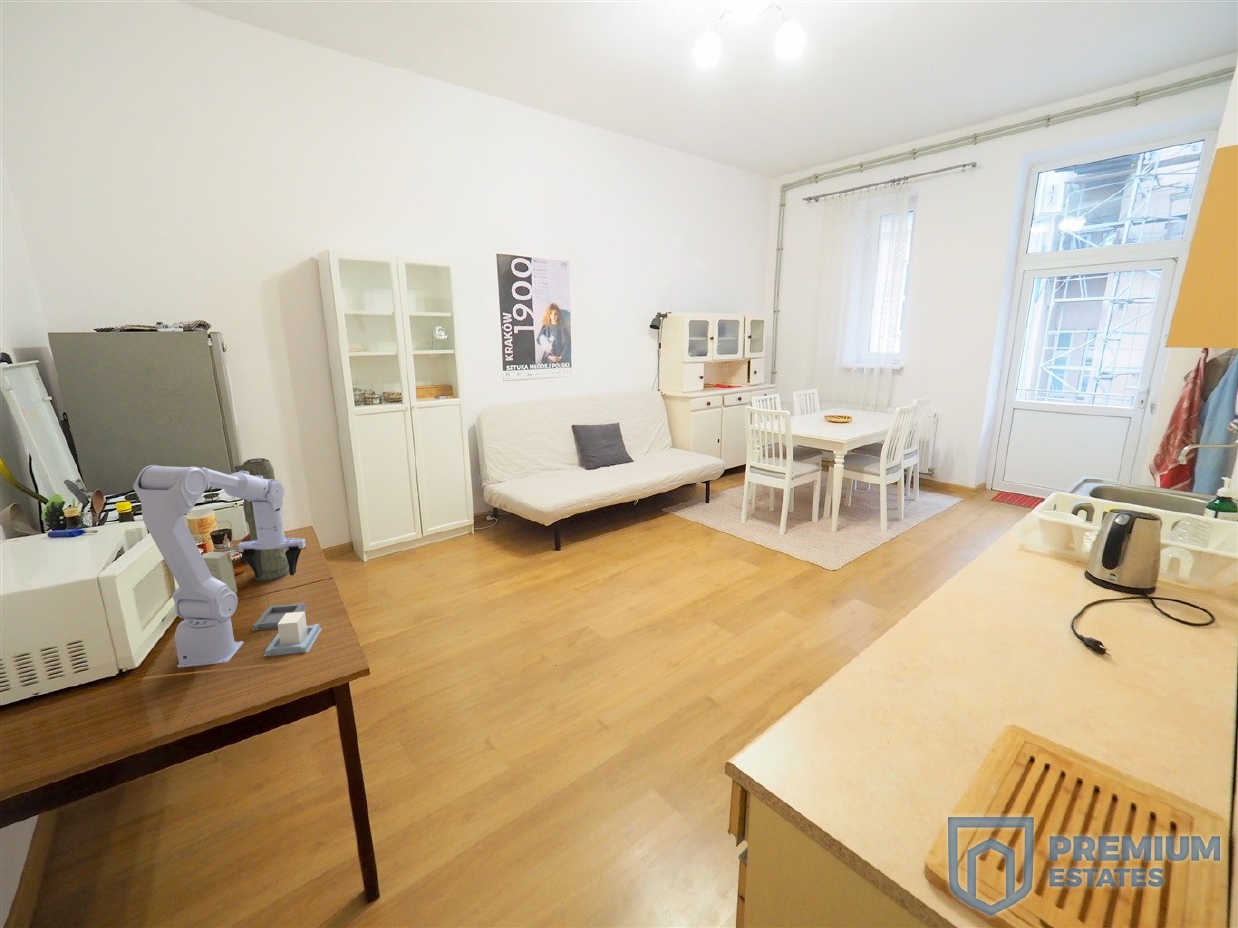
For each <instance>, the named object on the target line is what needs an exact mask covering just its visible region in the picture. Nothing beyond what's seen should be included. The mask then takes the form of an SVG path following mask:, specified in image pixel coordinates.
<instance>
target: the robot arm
mask: <svg viewBox="0 0 1238 928" xmlns="http://www.w3.org/2000/svg"><path fill="white" fill-rule="evenodd" d="M132 488H133V490H134V492H135V493H136V495H137V498H138V499H139V501H140V505H141V514H142V520H143V523H144V525H145V527H146V528H147V531H148V532H149V534H150V536H151V537H152V540H153V542H154V543H155V545H156V547H157V548H158V550H159V552H160V554H161V556H162V557H163V559H164V561H165V563H166V565H167V567H168V569H169V570H170V572H171V574H172V576H173V577H174V579H175V581H176V584H177V585H178V587H177V588H176V589H175V590H174V592H173V593H172V595H171V598H172V599H173V602H174V612H175V614H176V616H178V617H179V618H181V619H184V620H182V621H180V623H178V625H177V627H176V629H175V633H174V645H175V649H176V654H177V659H178V664H177V666H176V667H177V668H186V667H195V666H196V667H197V666H207V665H215V664H218V665H219V664H225V663H228V662H230V660H231V659H232V657H233V656H234V655H235V654H236V652H238V651H239V649H240V648H241V647H242V645H243V644H244V641H243V640H240V641H235V635H234V629H233V624H232V619H231V618H232V616H233V615H234V613H236V611H237V607H238V602H239V601H238V596H237V593H236V594H235V593H234V592H233V591H231V590H230V589H229V588H228V586H227V584H225V583H223V582H222V581H220V580H218V579H216V578H214V577H212V575H211V573H210V571H209V569H208V567H207V565H206V563H205V561H204V559H203V557H202V555H203V554H202V553H201V551H200V549H199V547H198V545H197V543H196V541H195V539H194V537H193V535H192V533H191V531H190V529H189V528H188V526H187V523H186V521H185V519H184V515H187V514H188V513H190V512H191V511H192V509H193V508H194V507H195V505H196V504H197V502H198V501H199V499H200V498H201V497H202V495H203V494H204V492H205V490H209V489H210V488H214V489H215V488H216V489H221V490H222V489H223V490H224V492H225V493H226V494H227V495H228V496H229V497H232V498H233V497H234V498H238V499H243V500H244V499H246V500H247V501H249V502H251V501H252V505H253V512H254V518H255V525H256V532H257V539H258V540H255V541H248V542H241V541H240V542H241V543H240V542H239V543H238V544H237V550H238V551H239V552H244V554H243V555H242V558H243V560H244V561H245V562H246V563H247V564H248V565H249V567H250V568H251V570H252V571H253V573H255V575H256V578H260V577H261V576H262V575H263V569H262V564H261V550H266V549H283V548H286V550H287V551H286V552H285V555H286V557H287V560H288V567H289V573H288V574H289V576H294V575H295V574H296V573H297V565H298V560H299V557H300V554H301V552H302V549H304V548H305V546H306V539H305V538H296V537H294V538H293V537H286V536H285V529H284V528H285V527H284V522H283V521H284V520H283V511H282V512H281V509H282V507H283V505H284V501H283V498H284V496H285V487H284V486H283V484H282V483H281V482H280V481H279V480H278V479H275V480H274V479H264V478H263V476H260V475H256V476H253V475H249V472H248V471H241V470H239V471H238V472H237V471H236V472H233V473H231V474H228V473H223V472H220V471H217V470H213V469H210V468H207V467H198V466H169V465H168V466H167V465H165V466H163V465H157V464H151V465H150V464H149V465H148V466H145V467H143V468H142V469H141V470H140V472H139V473H138V475H137V477H136V479H135V481H134V483H133V485H132ZM242 558H241V559H242ZM255 575H254V576H255Z"/></svg>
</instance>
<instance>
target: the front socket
mask: <svg viewBox="0 0 1238 928" xmlns="http://www.w3.org/2000/svg"><path fill="white" fill-rule="evenodd" d="M322 630H323V628H322V627H321V625H320V623H314V624H313V625H307V631H308V635H307V636H306V638H305V639H304V641H303V643H302V644H296V645H286V646H280V639H279V632H278V633H277V634H276V635H275V637H274V638H273V640H272V641H271V642H270V644H269V645H268V646H267V648H266V650H265V651H264V655H263V657H270V656H279V655H280V656H283V655H291V654H298V653H299V654H301V653H309V652H310V650H311V648H312V646H313V645H314V644H315V642H316V640H317V638H318V636H319V634H321V631H322Z"/></svg>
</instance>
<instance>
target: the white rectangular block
mask: <svg viewBox="0 0 1238 928" xmlns="http://www.w3.org/2000/svg"><path fill="white" fill-rule="evenodd" d="M277 625H278V628H277V629H278V633H279V639H280V646H286V645H296V644H302V643H303V641H304V639H305V638H306V636H307V635H308V631H307V626H308V625H307V618H306V610H304V611H303V612H291V613H286V614H285V615H284V616H283V618H282V619H281V620H280V621H279V623H278V624H277Z"/></svg>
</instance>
